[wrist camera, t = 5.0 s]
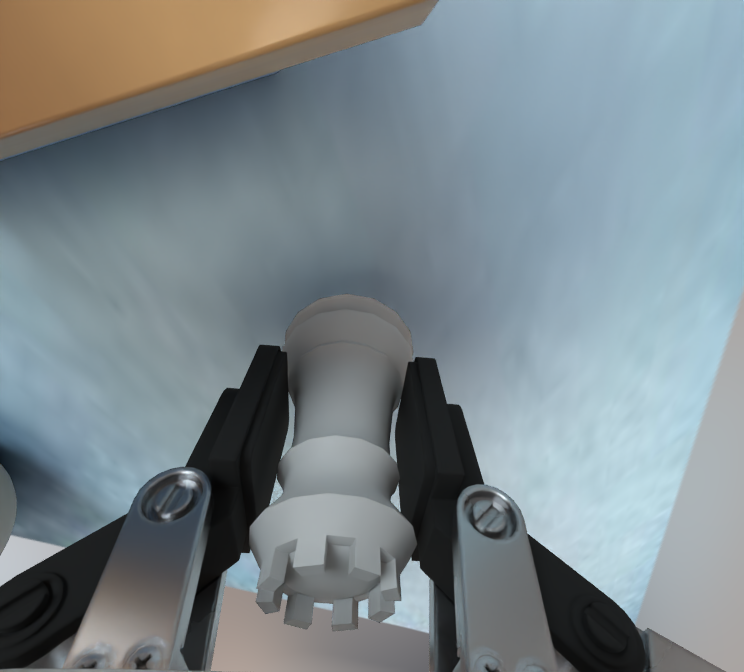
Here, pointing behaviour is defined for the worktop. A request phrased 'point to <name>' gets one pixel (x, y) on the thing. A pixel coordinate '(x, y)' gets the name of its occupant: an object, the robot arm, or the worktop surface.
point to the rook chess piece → (338, 468)
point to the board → (160, 53)
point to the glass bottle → (6, 507)
